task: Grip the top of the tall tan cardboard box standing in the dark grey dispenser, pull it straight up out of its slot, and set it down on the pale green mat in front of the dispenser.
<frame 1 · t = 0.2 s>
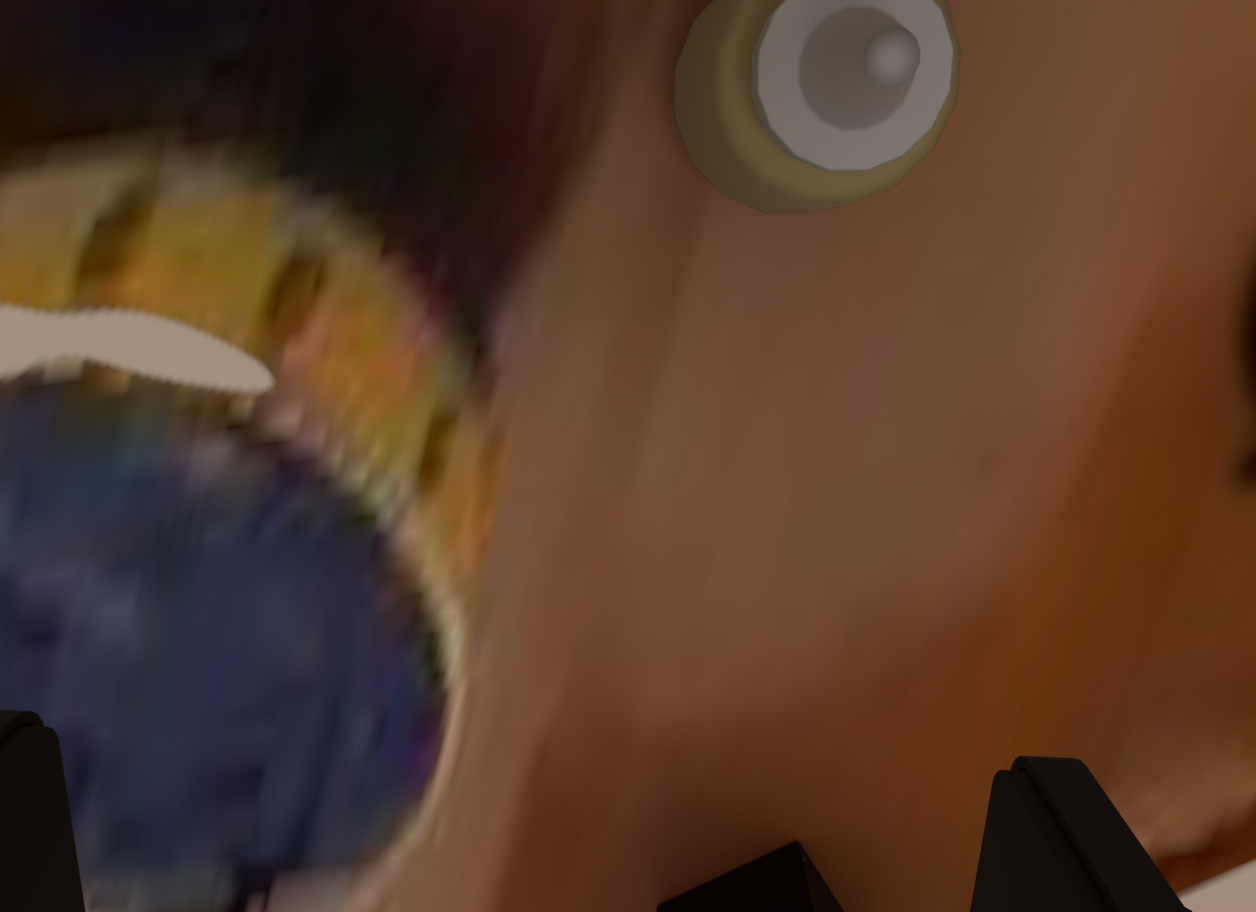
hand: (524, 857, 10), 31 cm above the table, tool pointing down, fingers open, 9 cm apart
squeeze bottle: (778, 97, 37), on the table
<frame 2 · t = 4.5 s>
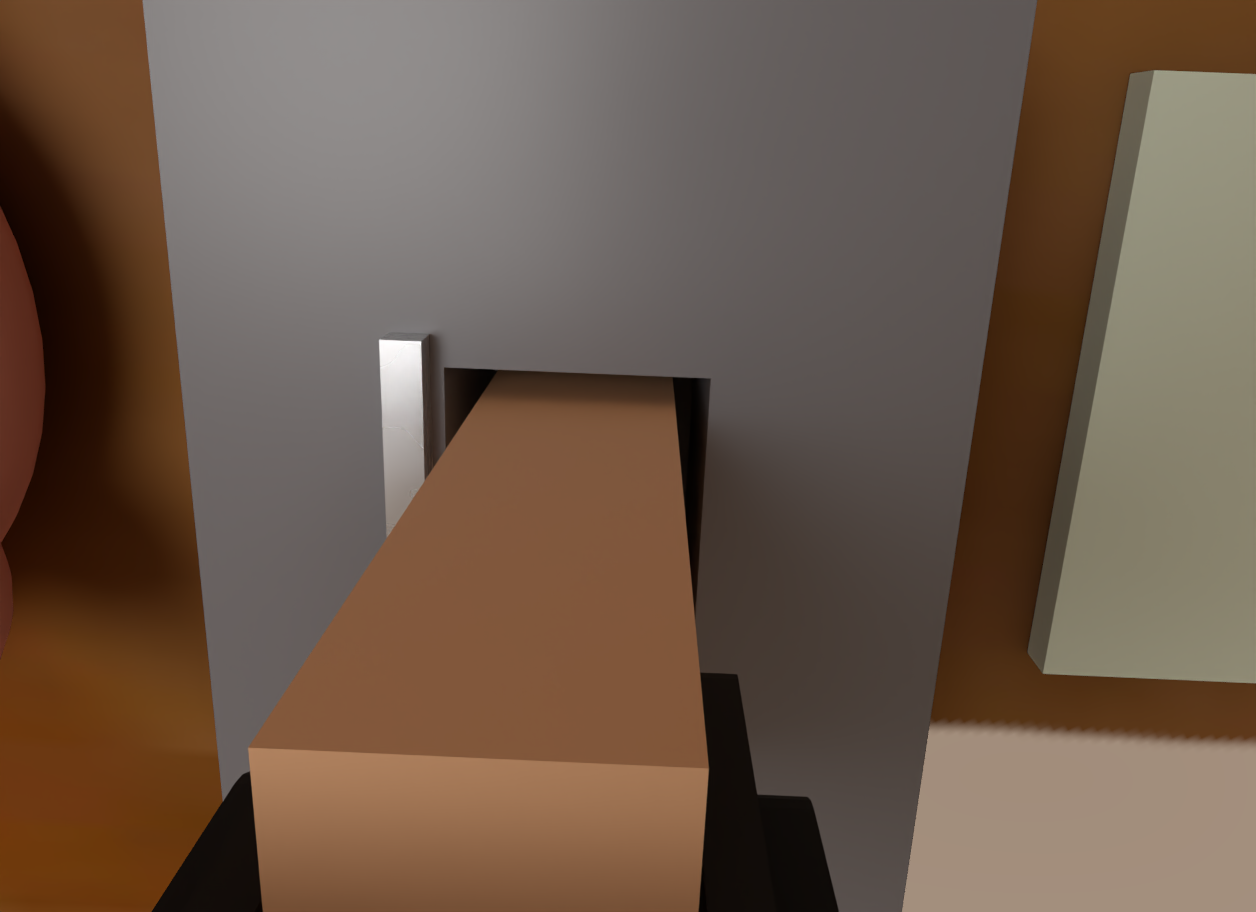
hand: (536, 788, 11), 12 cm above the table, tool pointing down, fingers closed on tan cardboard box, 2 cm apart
dispenser: (595, 455, 23), on the table
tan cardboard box: (590, 484, 21), point 2 cm above the table, touching gripper
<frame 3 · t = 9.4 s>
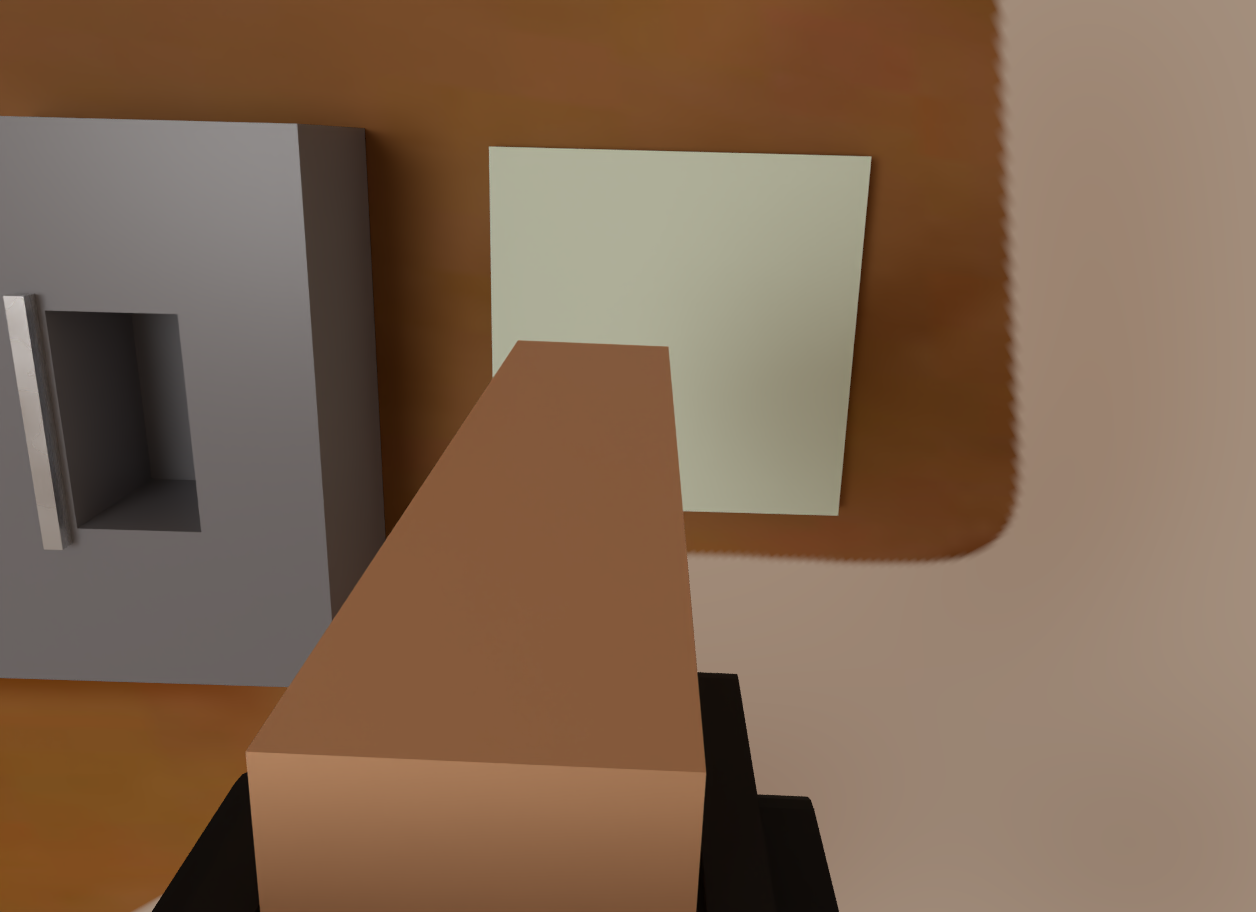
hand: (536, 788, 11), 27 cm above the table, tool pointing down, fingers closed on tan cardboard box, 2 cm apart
dispenser: (218, 375, 38), on the table
mat: (671, 335, 37), on the table
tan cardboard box: (589, 485, 21), point 17 cm above the table, touching gripper
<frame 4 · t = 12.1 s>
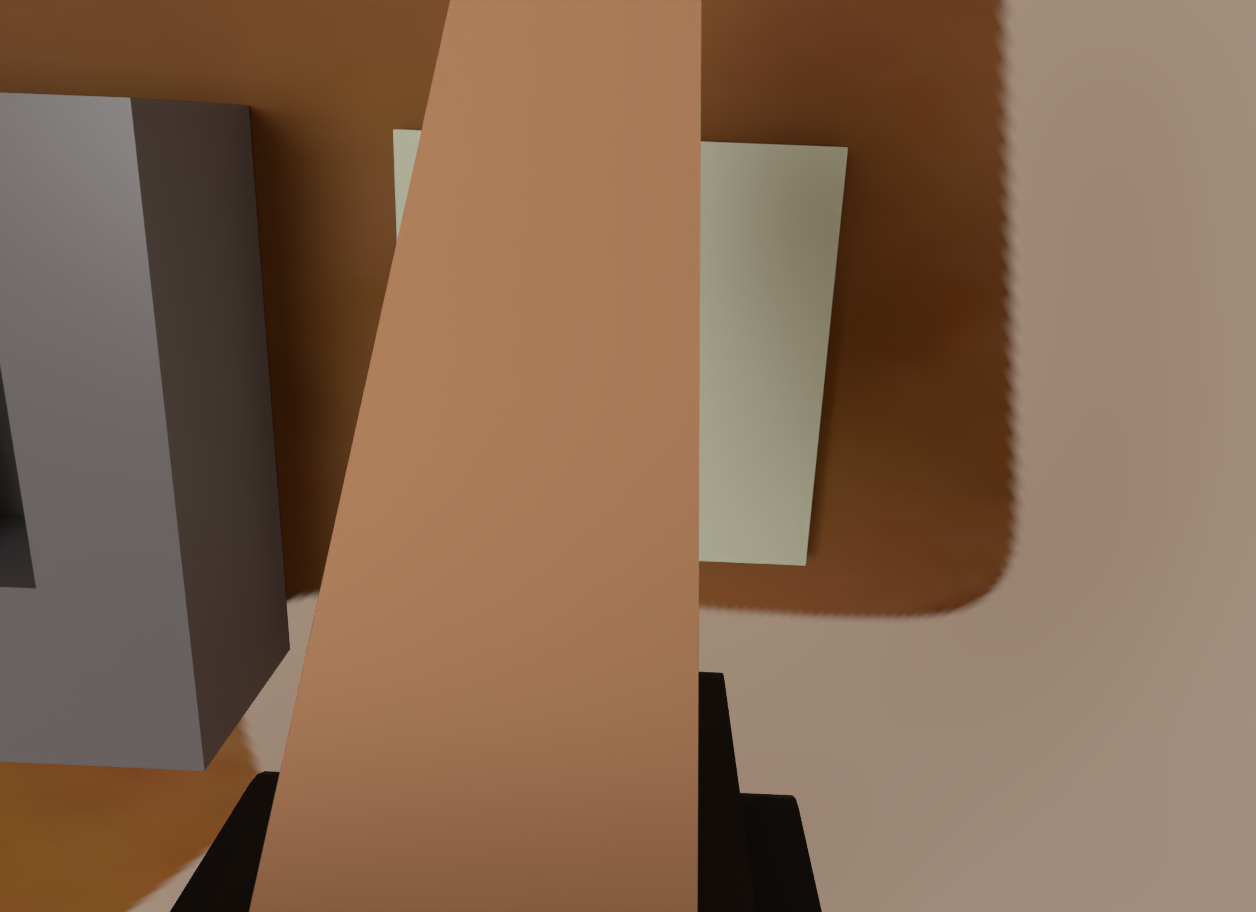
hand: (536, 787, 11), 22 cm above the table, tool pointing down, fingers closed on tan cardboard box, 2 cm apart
dispenser: (86, 393, 32), on the table
mat: (613, 354, 31), on the table
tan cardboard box: (595, 54, 16), point 14 cm above the table, tilted 40°, touching gripper
when the fingers open (13 cm above the table, at t = 14.3 s): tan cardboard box moves 3 cm and tips over, resting on mat.
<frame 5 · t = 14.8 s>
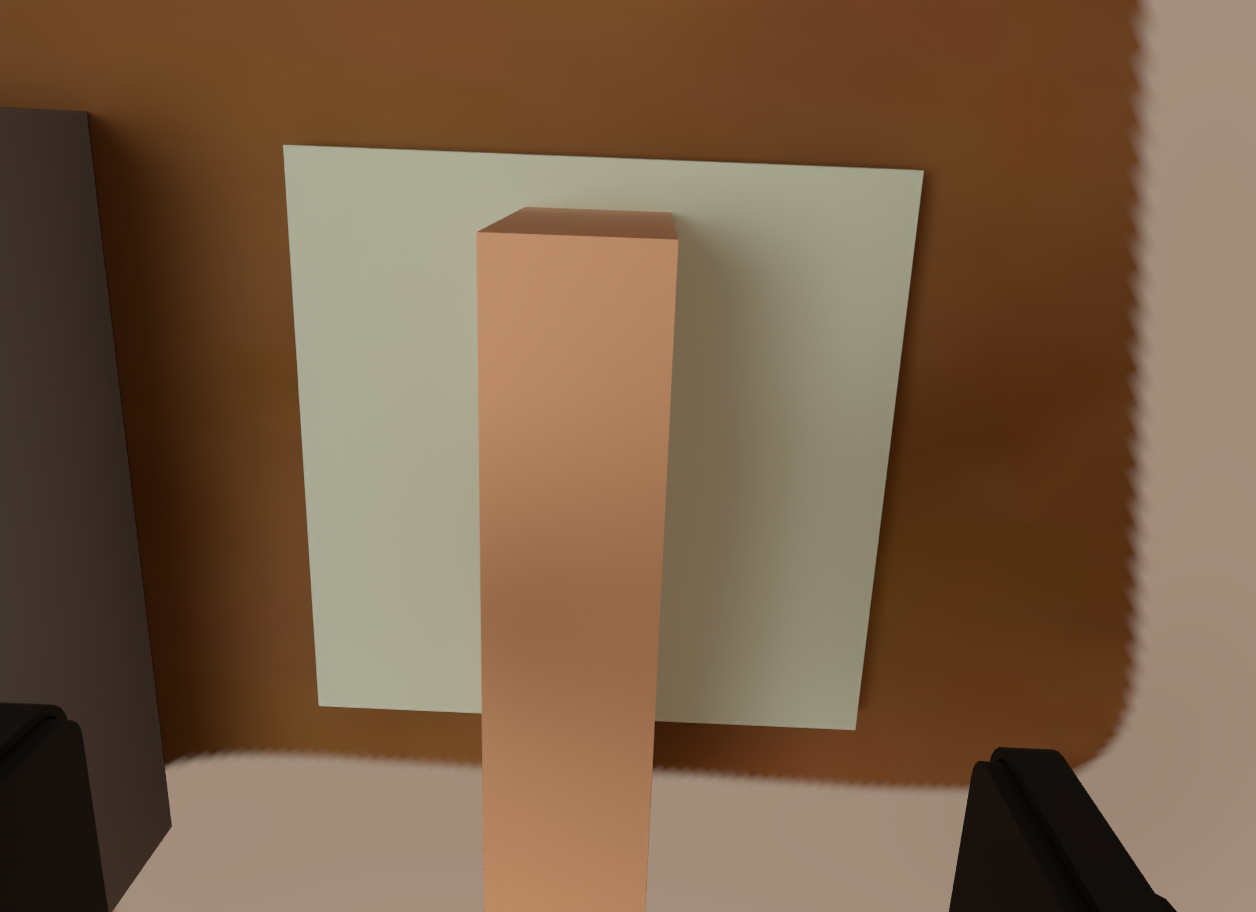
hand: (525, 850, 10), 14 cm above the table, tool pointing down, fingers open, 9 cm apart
mat: (596, 449, 23), on the table
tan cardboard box: (589, 220, 18), point 4 cm above the table, tilted 90°, touching mat
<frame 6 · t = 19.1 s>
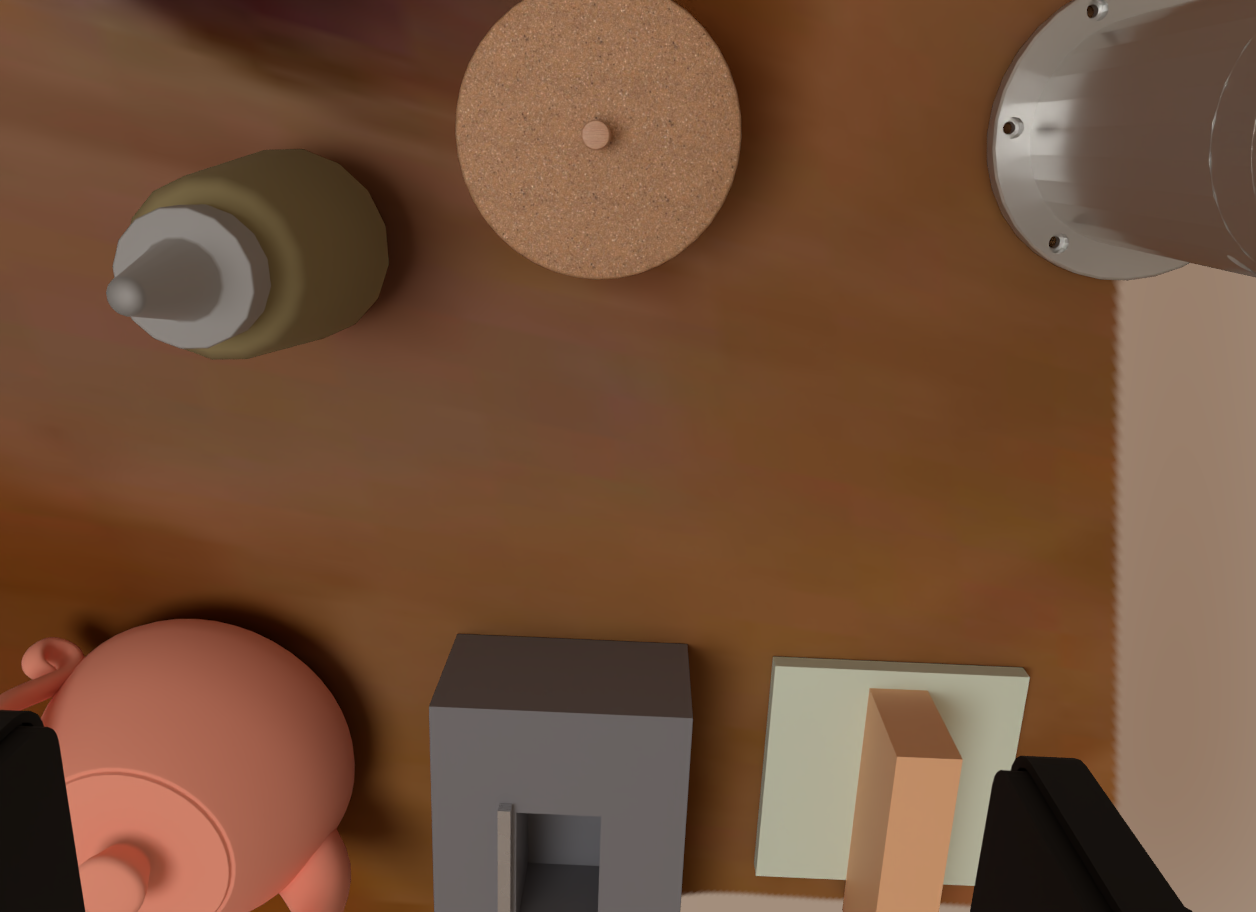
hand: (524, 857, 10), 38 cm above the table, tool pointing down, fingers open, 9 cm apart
lidded jar: (606, 136, 45), on the table
dispenser: (568, 786, 55), on the table
mat: (883, 769, 54), on the table
squeeze bottle: (323, 238, 46), on the table
teapot: (241, 736, 54), on the table
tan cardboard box: (913, 721, 48), point 4 cm above the table, tilted 90°, touching mat
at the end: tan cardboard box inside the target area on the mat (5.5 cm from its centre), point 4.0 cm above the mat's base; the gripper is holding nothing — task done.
